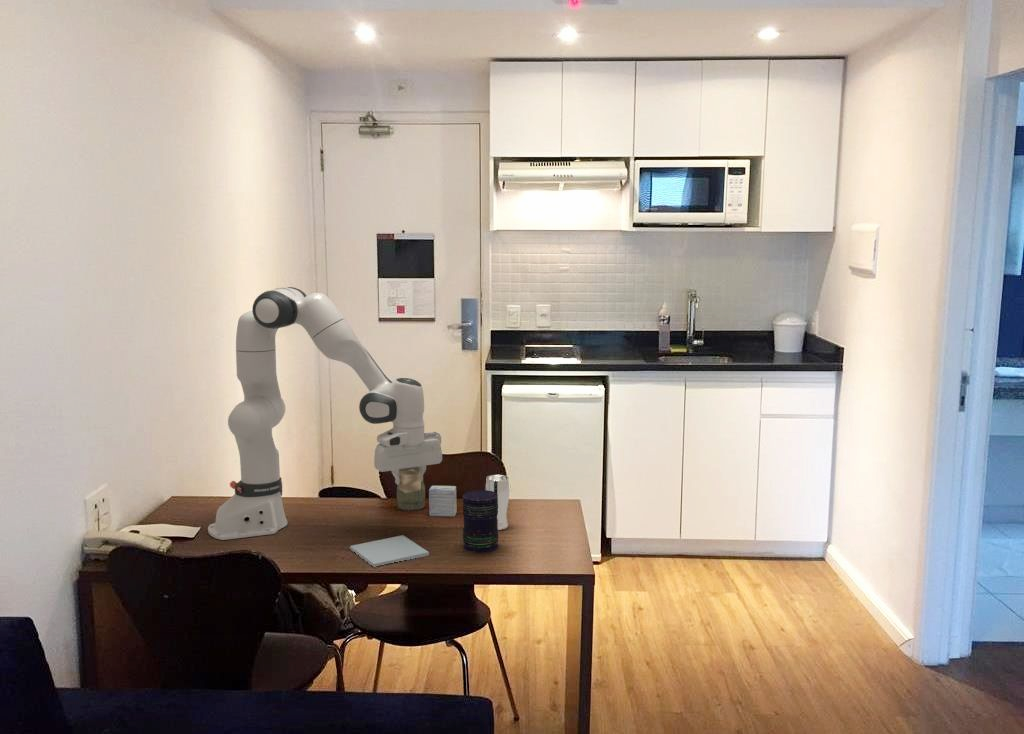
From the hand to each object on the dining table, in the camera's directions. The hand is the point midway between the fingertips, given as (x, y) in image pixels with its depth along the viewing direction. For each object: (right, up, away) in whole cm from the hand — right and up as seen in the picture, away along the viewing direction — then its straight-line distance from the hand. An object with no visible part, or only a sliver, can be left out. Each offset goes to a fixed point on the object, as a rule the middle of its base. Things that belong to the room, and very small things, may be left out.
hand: (409, 482), depth 254 cm
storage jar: (+21, -17, -9) cm, 28 cm away
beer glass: (+25, -14, +8) cm, 30 cm away
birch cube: (0, -2, 0) cm, 2 cm away
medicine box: (+8, -13, +19) cm, 24 cm away
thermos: (-2, -12, +26) cm, 29 cm away
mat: (-4, -17, -13) cm, 22 cm away
